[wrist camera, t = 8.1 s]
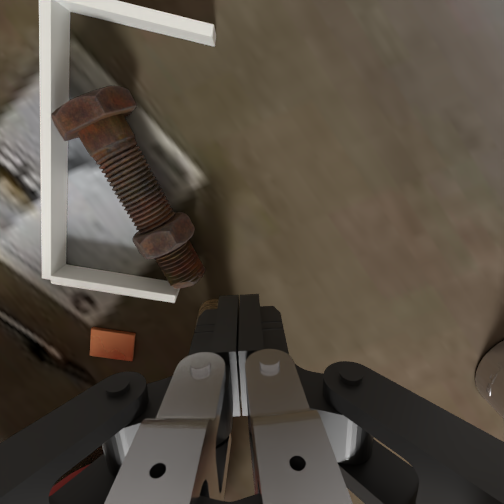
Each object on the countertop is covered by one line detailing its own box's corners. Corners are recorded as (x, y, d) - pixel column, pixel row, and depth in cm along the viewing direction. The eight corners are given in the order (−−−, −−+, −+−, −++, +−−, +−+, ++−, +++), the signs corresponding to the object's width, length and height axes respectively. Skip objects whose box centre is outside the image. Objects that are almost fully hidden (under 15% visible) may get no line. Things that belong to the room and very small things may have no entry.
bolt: (187, 265, 31) (99, 108, 26) (229, 258, 28) (139, 80, 23) (148, 304, 27) (31, 124, 21) (192, 300, 24) (71, 92, 19)
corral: (216, 35, 23) (213, 24, 21) (179, 289, 30) (174, 303, 28) (59, -3, 22) (38, -20, 20) (57, 270, 29) (41, 282, 26)
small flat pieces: (260, 342, 32) (261, 354, 30) (250, 382, 34) (251, 396, 32) (93, 317, 31) (84, 328, 29) (91, 361, 32) (83, 374, 30)
